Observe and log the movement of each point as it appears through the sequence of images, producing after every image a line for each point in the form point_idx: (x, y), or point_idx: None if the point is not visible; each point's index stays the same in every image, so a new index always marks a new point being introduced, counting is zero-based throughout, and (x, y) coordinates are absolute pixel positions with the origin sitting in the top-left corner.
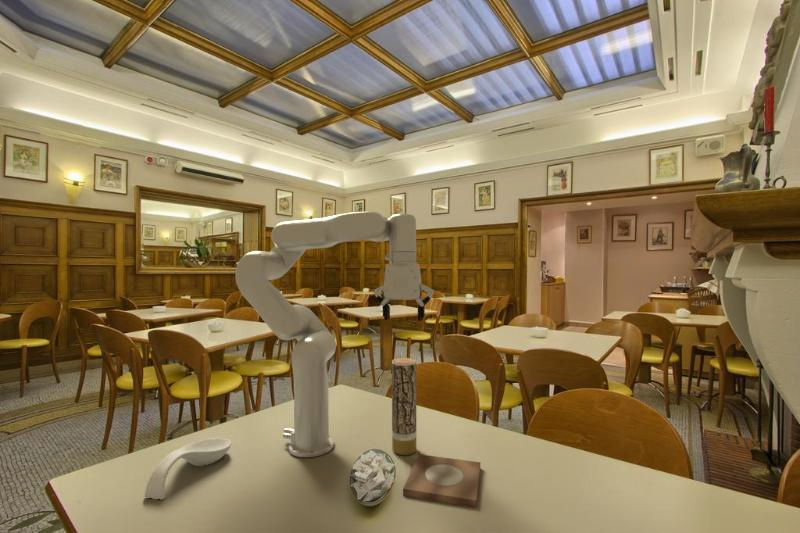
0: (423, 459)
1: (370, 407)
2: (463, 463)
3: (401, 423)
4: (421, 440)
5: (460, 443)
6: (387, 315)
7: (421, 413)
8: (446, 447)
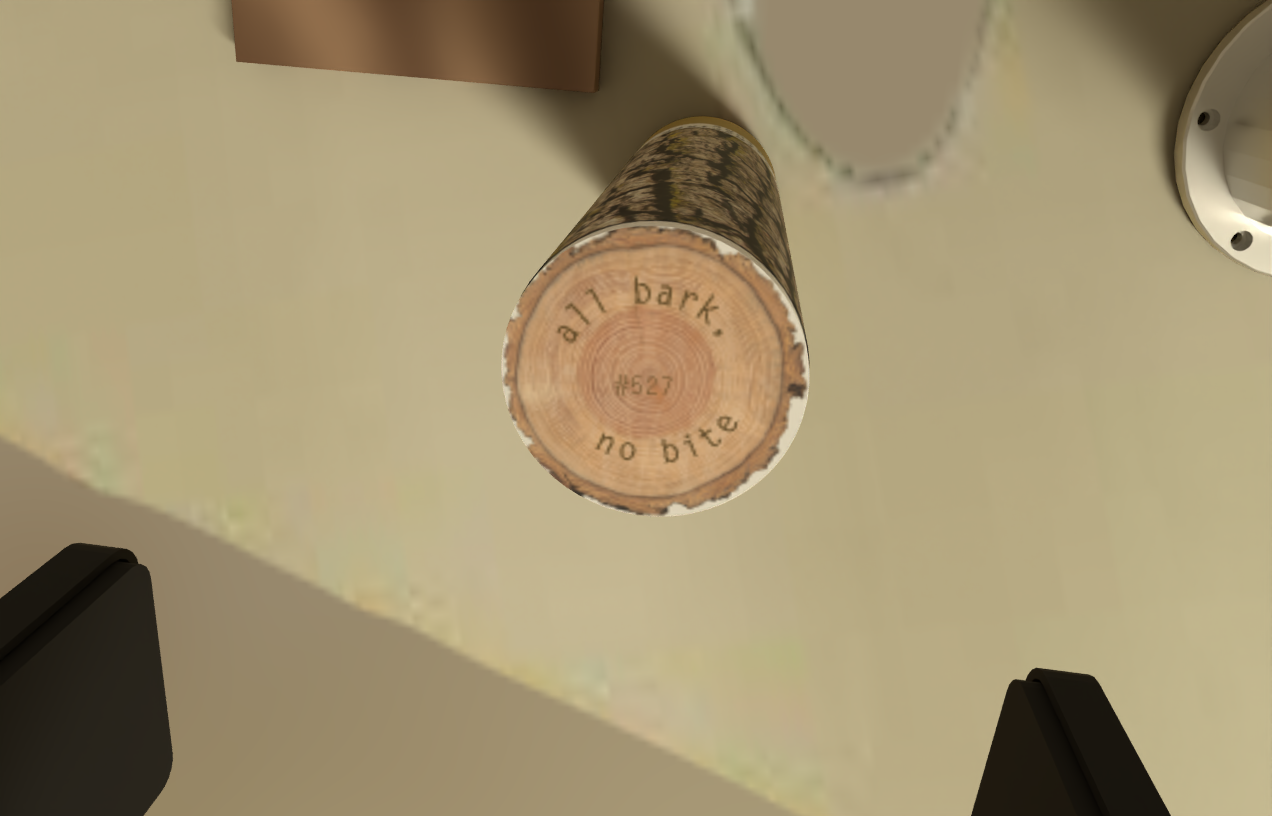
0: (555, 30)
1: None
2: (323, 29)
3: (696, 135)
4: None
5: (393, 330)
6: (1028, 806)
7: (671, 680)
8: (464, 270)
